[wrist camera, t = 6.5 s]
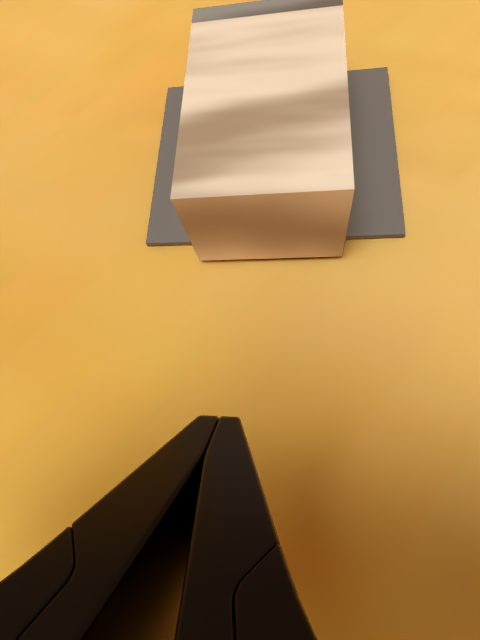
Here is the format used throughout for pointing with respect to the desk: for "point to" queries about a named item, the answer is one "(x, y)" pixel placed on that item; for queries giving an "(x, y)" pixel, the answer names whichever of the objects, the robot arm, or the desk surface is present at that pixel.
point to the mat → (368, 165)
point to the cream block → (265, 132)
